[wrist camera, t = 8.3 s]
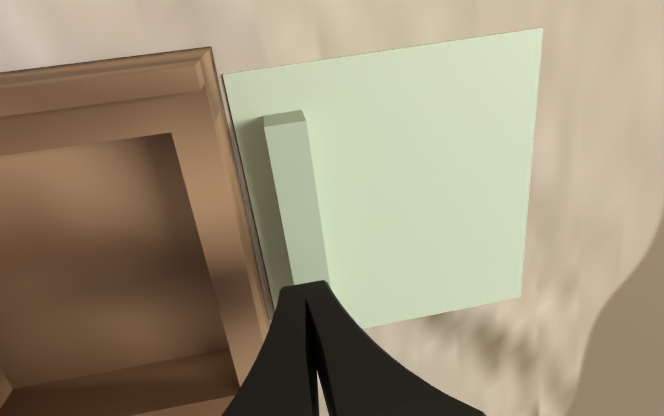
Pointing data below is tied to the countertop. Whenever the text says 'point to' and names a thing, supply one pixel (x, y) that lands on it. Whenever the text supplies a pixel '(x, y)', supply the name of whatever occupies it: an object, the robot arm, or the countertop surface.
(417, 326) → the countertop surface
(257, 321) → the box
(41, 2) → the countertop surface
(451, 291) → the lid
